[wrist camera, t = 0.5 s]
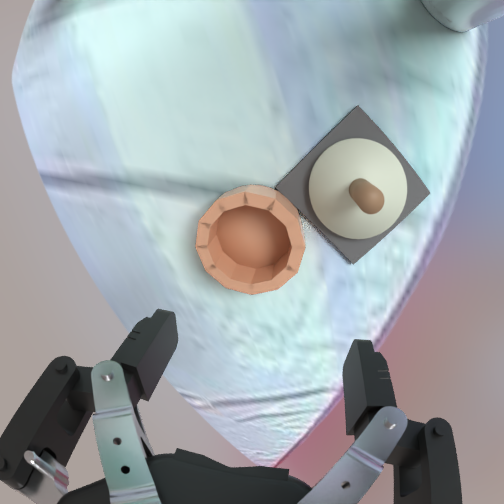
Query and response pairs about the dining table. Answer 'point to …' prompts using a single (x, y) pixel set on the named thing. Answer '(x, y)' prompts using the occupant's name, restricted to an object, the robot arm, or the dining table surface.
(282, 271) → the bowl
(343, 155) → the lid
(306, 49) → the dining table surface
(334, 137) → the mat
